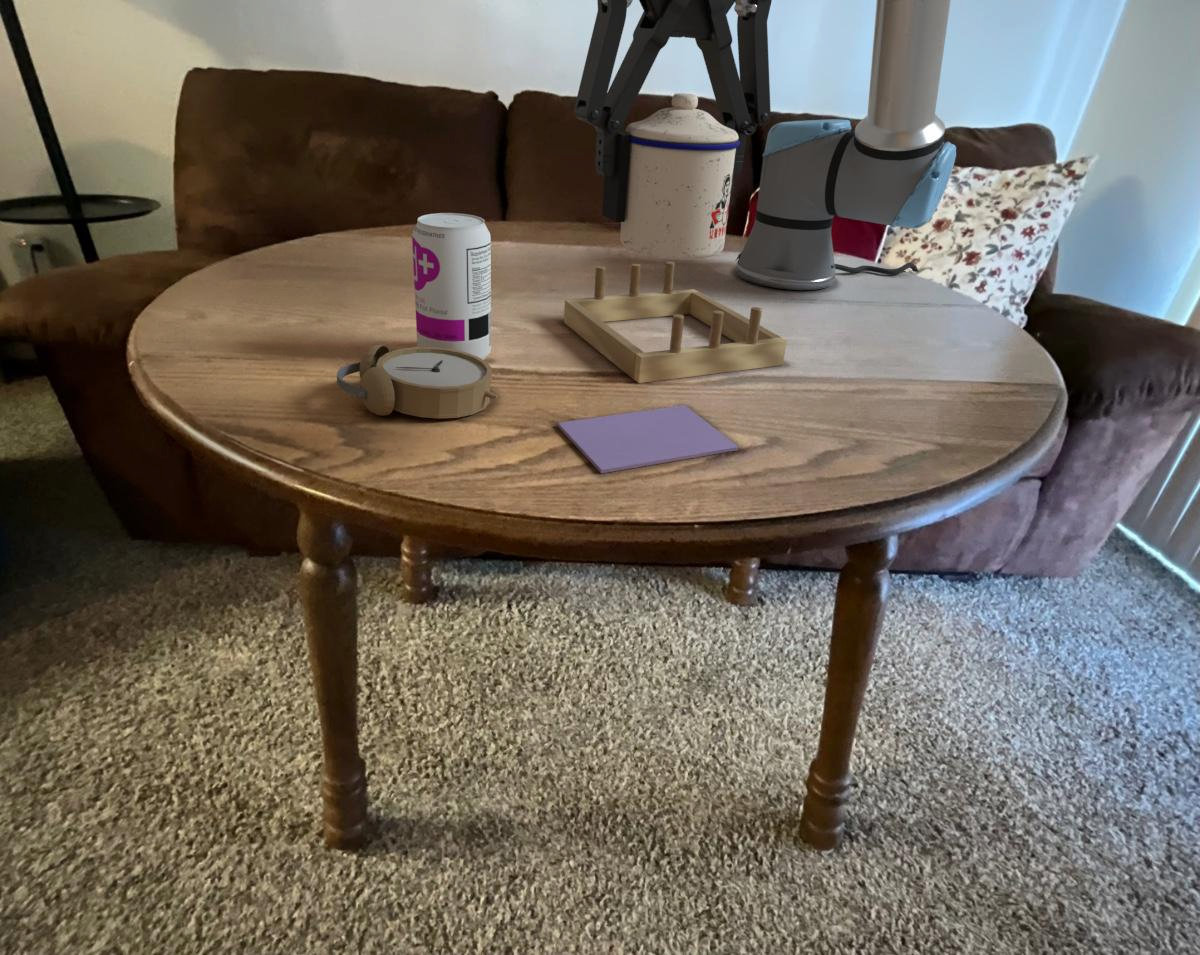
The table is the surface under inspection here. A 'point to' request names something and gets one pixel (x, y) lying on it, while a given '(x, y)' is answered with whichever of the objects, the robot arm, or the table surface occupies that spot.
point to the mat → (645, 438)
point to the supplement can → (453, 282)
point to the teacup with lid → (678, 182)
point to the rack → (672, 331)
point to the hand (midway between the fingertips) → (666, 216)
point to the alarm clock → (420, 382)
